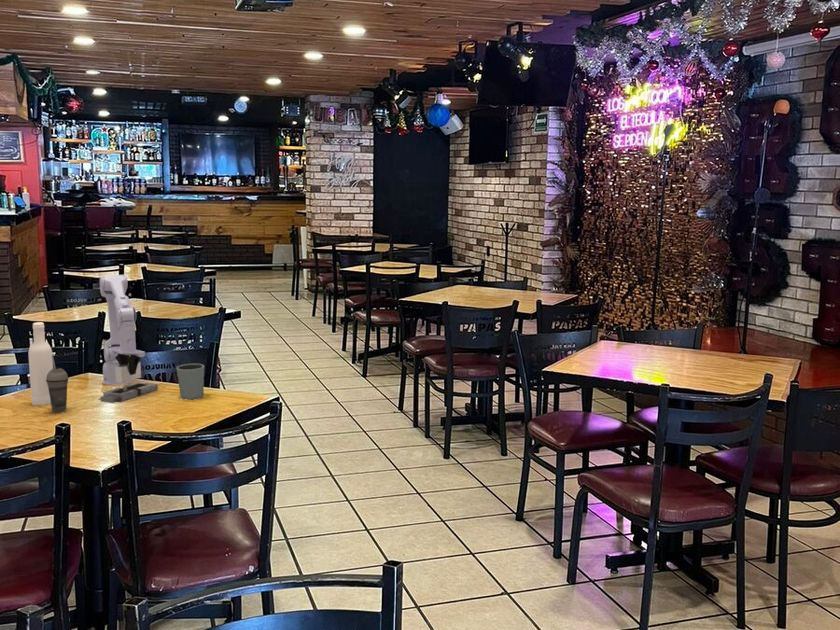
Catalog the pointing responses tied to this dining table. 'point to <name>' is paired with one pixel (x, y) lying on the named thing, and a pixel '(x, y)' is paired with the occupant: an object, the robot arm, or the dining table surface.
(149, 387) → the chain end
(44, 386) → the bottle
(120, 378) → the master link
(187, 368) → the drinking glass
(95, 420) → the dining table surface
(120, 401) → the mat
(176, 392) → the dining table surface
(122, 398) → the chain end
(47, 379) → the beverage cup
